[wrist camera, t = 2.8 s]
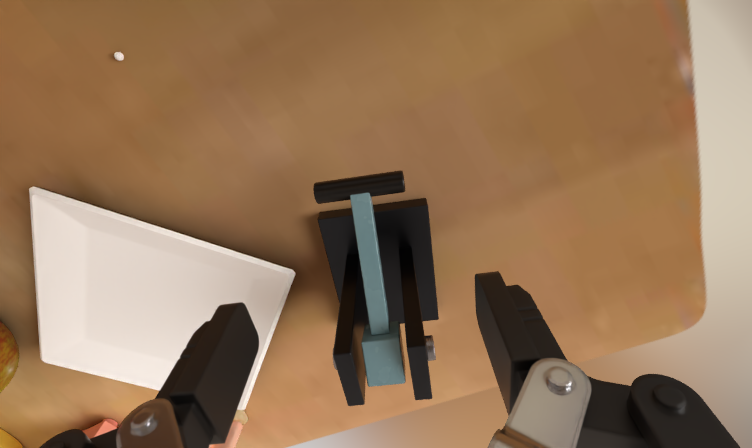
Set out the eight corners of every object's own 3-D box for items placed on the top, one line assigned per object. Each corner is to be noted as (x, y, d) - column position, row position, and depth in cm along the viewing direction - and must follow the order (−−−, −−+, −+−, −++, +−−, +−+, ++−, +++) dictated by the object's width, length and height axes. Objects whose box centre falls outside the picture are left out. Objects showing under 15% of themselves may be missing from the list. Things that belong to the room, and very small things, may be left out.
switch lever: (318, 181, 22) (308, 183, 19) (402, 169, 21) (402, 170, 19) (349, 366, 24) (344, 389, 21) (426, 359, 23) (430, 381, 21)
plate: (56, 345, 35) (38, 363, 33) (50, 174, 26) (25, 186, 24) (250, 394, 38) (243, 413, 36) (300, 257, 29) (295, 273, 28)
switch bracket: (319, 212, 27) (288, 312, 18) (425, 197, 27) (451, 294, 17) (347, 319, 33) (334, 440, 23) (436, 309, 32) (460, 430, 23)
